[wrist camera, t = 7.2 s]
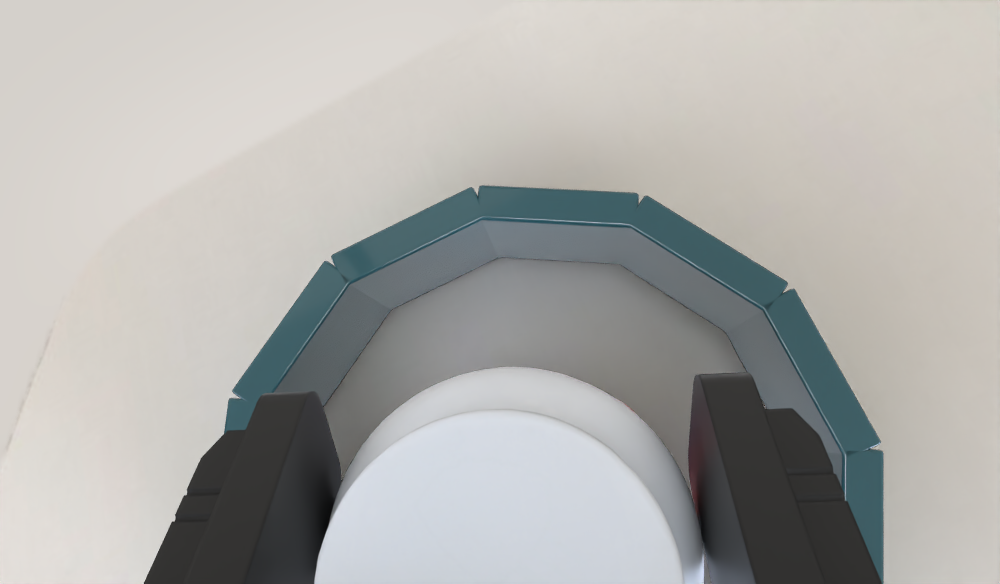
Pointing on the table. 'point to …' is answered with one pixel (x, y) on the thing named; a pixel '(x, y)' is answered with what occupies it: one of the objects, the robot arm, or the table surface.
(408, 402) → the pill bottle
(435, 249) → the faceted teal band
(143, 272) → the table surface
